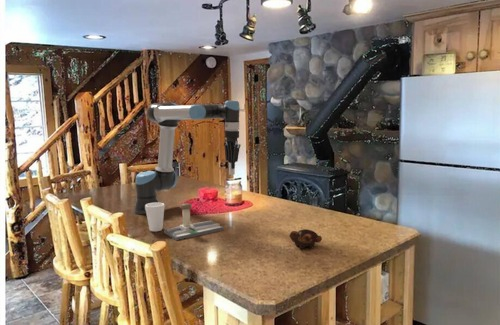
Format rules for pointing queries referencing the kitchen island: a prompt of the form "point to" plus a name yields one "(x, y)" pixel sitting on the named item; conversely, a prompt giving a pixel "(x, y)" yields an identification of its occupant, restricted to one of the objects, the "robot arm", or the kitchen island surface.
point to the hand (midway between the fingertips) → (231, 174)
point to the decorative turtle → (305, 238)
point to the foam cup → (155, 215)
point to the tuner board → (198, 227)
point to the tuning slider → (186, 217)
